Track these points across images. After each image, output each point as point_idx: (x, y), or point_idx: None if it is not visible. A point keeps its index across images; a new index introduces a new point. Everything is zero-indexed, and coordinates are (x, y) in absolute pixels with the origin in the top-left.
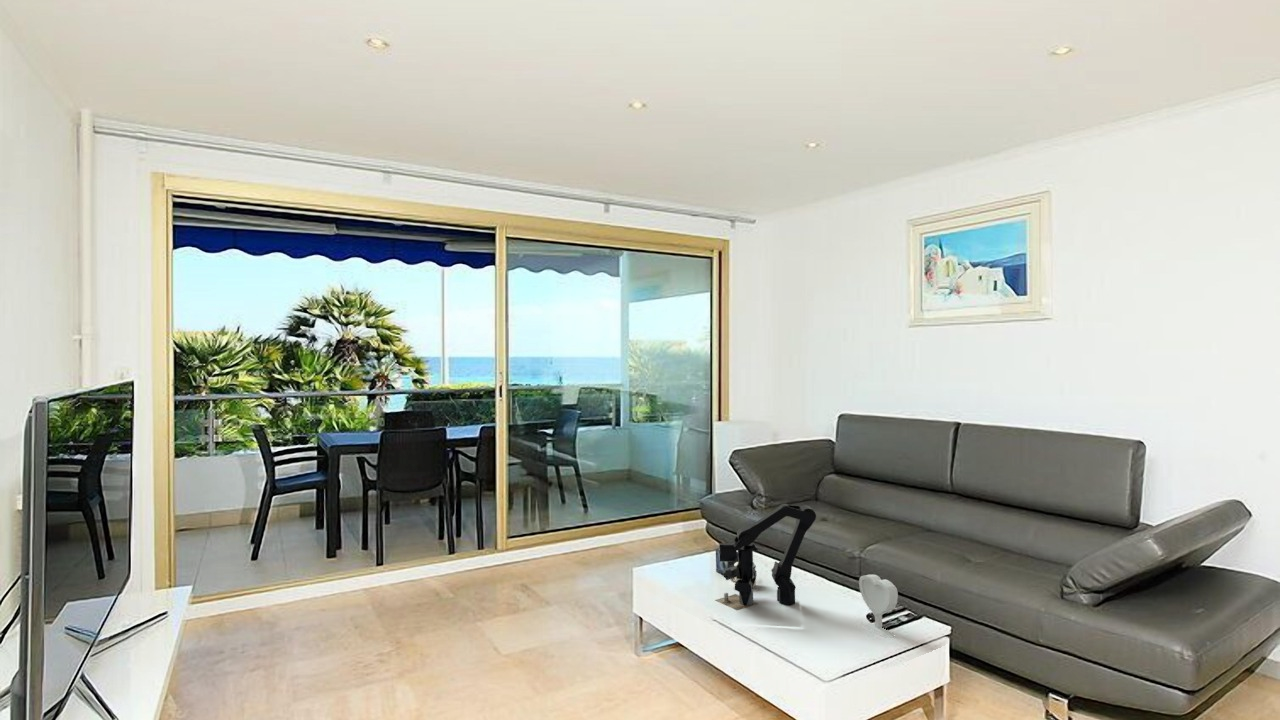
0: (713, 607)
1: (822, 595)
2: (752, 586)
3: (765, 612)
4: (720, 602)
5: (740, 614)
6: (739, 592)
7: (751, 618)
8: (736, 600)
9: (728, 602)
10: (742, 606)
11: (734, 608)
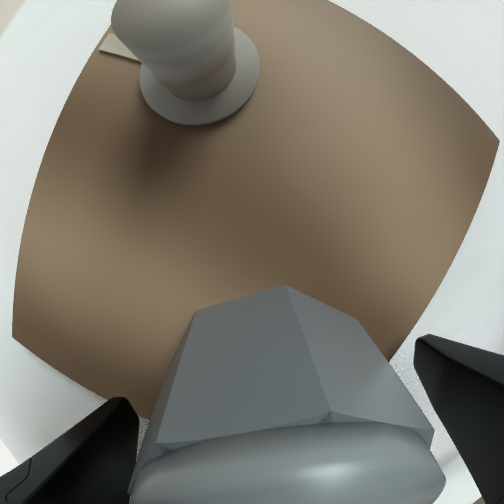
0: (29, 46)
1: (463, 496)
2: (484, 491)
3: None
4: (110, 36)
5: (17, 362)
6: (188, 448)
7: (32, 429)
8: (300, 222)
9: (150, 131)
10: (119, 371)
11: (20, 302)
